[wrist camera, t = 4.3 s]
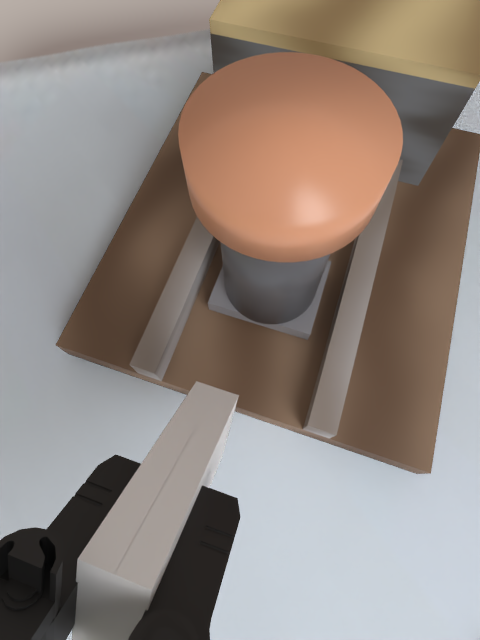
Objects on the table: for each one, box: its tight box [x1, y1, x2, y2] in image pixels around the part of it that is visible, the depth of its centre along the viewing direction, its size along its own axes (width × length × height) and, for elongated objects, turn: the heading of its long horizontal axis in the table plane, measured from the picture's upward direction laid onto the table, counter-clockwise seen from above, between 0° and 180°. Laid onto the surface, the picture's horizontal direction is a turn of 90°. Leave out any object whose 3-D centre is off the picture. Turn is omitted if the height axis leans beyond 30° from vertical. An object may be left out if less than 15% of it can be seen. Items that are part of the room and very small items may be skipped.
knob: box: [178, 52, 403, 340], centre depth 15 cm, size 6×6×10 cm
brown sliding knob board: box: [56, 0, 480, 474], centre depth 19 cm, size 18×20×8 cm
